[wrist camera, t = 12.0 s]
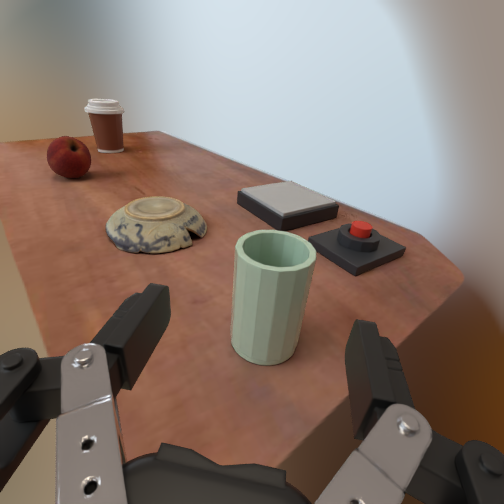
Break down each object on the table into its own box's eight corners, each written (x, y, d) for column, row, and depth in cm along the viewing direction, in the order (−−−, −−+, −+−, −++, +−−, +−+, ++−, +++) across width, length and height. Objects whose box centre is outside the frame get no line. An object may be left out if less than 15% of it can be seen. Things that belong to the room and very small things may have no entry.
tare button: (357, 228, 46) (360, 219, 45) (373, 236, 44) (376, 226, 43) (345, 232, 44) (348, 222, 44) (361, 241, 42) (364, 231, 42)
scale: (289, 193, 64) (291, 179, 63) (336, 217, 55) (340, 202, 54) (236, 203, 57) (237, 187, 56) (280, 232, 49) (283, 215, 47)
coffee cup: (95, 145, 85) (87, 97, 79) (130, 146, 87) (125, 99, 81) (88, 154, 78) (78, 101, 72) (127, 154, 80) (120, 104, 74)
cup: (269, 307, 33) (281, 224, 28) (310, 347, 29) (333, 257, 24) (218, 329, 30) (221, 239, 25) (255, 377, 25) (268, 280, 20)
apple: (61, 185, 58) (50, 142, 54) (45, 175, 62) (34, 133, 58) (100, 178, 63) (93, 137, 59) (83, 169, 67) (75, 130, 63)
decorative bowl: (134, 204, 54) (79, 244, 41) (132, 183, 52) (73, 218, 39) (218, 217, 52) (187, 262, 39) (218, 196, 50) (186, 237, 37)
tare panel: (354, 230, 51) (359, 213, 50) (403, 255, 45) (410, 237, 44) (306, 245, 46) (310, 227, 44) (354, 276, 40) (360, 256, 38)
